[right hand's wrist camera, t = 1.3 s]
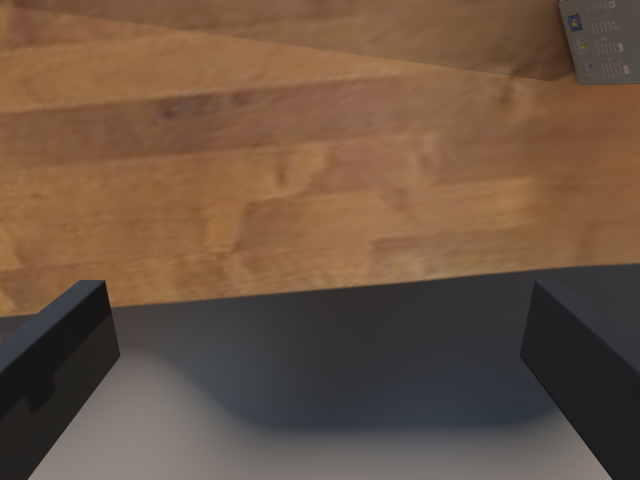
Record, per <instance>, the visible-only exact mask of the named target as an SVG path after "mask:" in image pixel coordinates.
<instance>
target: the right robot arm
mask: <svg viewBox="0 0 640 480" xmlns="http://www.w3.org/2000/svg"><path fill="white" fill-rule="evenodd" d="M119 357H120V352H119V347H118V342H117V337H116V333H115V327H114V323H113V318H112V313H111V308H110V303H109V298H108V293H107V288H106V283H105V280H80V281H78V282H77V283H76V284H74V285H73V286H72V287H71V288H69V289H68V290H67V291H66V292H64V293H63V294H62V295H61V296H59V297H58V298H57V299H56V300H54V301H53V302H52V303H50V304H49V305H48V306H47V307H45V308H44V309H43V310H42V311H40V312H39V313H38V314H37V315H35V316H34V317H33V318H32V319H30V320H29V321H28V322H26V323H25V324H24V325H23V326H21V327H20V328H19V329H18V330H16V331H15V332H14V333H12V334H11V335H10V336H9V337H7V338H6V339H5V340H4V341H2V342H1V343H0V480H28V478H29V477H30V476H31V474H32V473H33V472H34V470H35V469H36V468H37V466H38V465H39V464H40V462H41V461H42V460H43V458H44V457H45V456H46V454H47V453H48V452H49V450H50V449H51V448H52V446H53V445H54V444H55V442H56V441H57V440H58V438H59V437H60V436H61V434H62V433H63V432H64V430H65V429H66V428H67V426H68V425H69V424H70V422H71V421H72V420H73V418H74V417H75V416H76V414H77V413H78V412H79V410H80V409H81V408H82V406H83V405H84V404H85V402H86V401H87V400H88V398H89V397H90V396H91V394H92V393H93V392H94V390H95V389H96V388H97V386H98V385H99V384H100V382H101V381H102V380H103V378H104V377H105V376H106V374H107V373H108V372H109V370H110V369H111V368H112V366H113V365H114V364H115V363H116V361H117V360H118V359H119ZM520 357H521V359H522V360H523V361H524V363H525V364H526V365H527V366H528V368H529V369H530V370H531V372H532V373H533V374H534V376H535V377H536V378H537V380H538V381H539V382H540V384H541V385H542V386H543V388H544V389H545V390H546V392H547V393H548V394H549V396H550V397H551V398H552V400H553V401H554V402H555V404H556V405H557V406H558V408H559V409H560V410H561V412H562V413H563V414H564V416H565V417H566V418H567V420H568V421H569V422H570V424H571V425H572V426H573V428H574V429H575V430H576V432H577V433H578V434H579V436H580V437H581V438H582V440H583V441H584V442H585V444H586V445H587V446H588V448H589V449H590V450H591V452H592V453H593V454H594V455H595V457H596V458H597V459H598V461H599V462H600V464H601V465H602V466H603V468H604V469H605V470H606V472H607V473H608V474H609V476H610V477H611V478H612V480H640V343H639V342H638V341H636V340H635V339H634V338H633V337H631V336H630V335H629V334H628V333H626V332H625V331H624V330H622V329H621V328H620V327H619V326H617V325H616V324H615V323H614V322H612V321H611V320H610V319H609V318H607V317H606V316H605V315H603V314H602V313H601V312H600V311H598V310H597V309H596V308H595V307H593V306H592V305H591V304H590V303H588V302H587V301H586V300H584V299H583V298H582V297H581V296H579V295H578V294H577V293H576V292H574V291H573V290H572V289H571V288H569V287H568V286H567V285H566V284H564V283H563V282H562V281H560V280H535V283H534V288H533V293H532V298H531V303H530V308H529V313H528V317H527V322H526V327H525V332H524V337H523V342H522V347H521V352H520Z"/></svg>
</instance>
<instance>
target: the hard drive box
mask: <svg viewBox="0 0 640 480" xmlns="http://www.w3.org/2000/svg"><path fill="white" fill-rule="evenodd" d="M559 9H560V13H561V17H562V21H563V24H564V28H565V32H566V36H567V40H568V44H569V47H570V51H571V55H572V59H573V63H574V67H575V70H576V74H577V78H578V81H579V84H580V85H611V84H640V0H560V3H559Z"/></svg>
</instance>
